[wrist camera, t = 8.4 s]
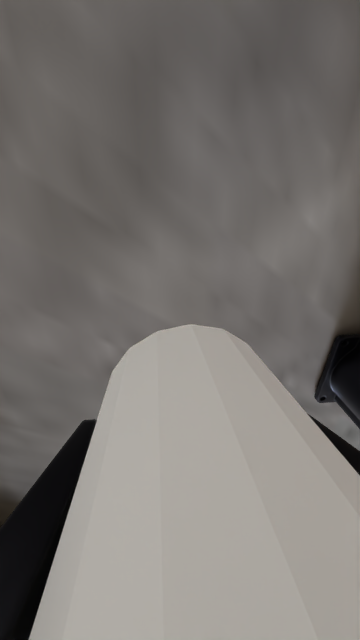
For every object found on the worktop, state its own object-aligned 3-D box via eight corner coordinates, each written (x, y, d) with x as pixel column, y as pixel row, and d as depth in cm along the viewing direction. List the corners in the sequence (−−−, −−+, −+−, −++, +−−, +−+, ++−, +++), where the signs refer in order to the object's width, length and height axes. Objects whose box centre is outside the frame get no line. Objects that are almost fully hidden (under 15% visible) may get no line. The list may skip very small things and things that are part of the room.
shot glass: (309, 382, 10) (558, 687, 4) (182, 471, 12) (224, 780, 6) (194, 260, 7) (453, 669, 1) (48, 400, 9) (-155, 868, 3)
